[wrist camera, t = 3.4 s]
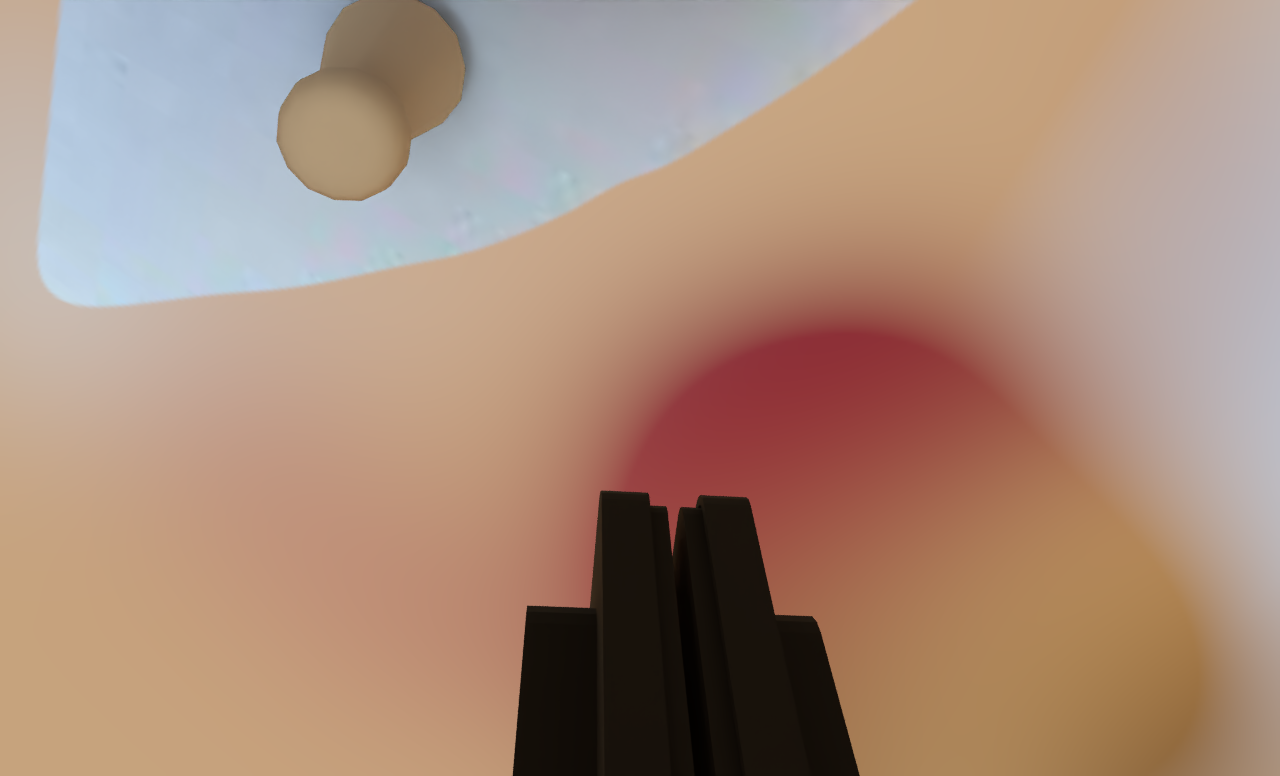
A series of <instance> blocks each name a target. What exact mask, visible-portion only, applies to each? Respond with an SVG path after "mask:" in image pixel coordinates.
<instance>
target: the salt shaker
mask: <svg viewBox="0 0 1280 776" xmlns="http://www.w3.org/2000/svg"><path fill="white" fill-rule="evenodd" d="M464 76H465V65H464V61H463V57H462V53H461V50H460V46H459V42H458V38H457V35H456V34H455V33H454V31H453V30H452V29H451V28H450V27H449V26H448V24H447V23H446V22H445V21H444V20H443V18H442V17H441V16H440V15H439V14H438V12H437V11H436V10H435V9H433V8H431V7H429V6H427V5H425V4H424V3H422V2H420V1H418V0H359V1H357V2H355V3H353V4H351V5H349V6H347V7H345V8H343V10H342V11H341V13H340V14H339V16H338V17H337V19H336V20H335V22H334V23H333V25H332V26H331V28H330V29H329V31H328V32H327V34H326V40H325V45H324V50H323V56H322V61H321V67H320V70H319V71H317V72H315V73H313V74H311V75H309V76H307V77H305V78H303V79H301V80H300V81H298V82H297V83H296V84H295V85H294V87H293V88H292V90H291V92H290V93H289V95H288V96H287V98H286V99H285V101H284V103H283V104H282V106H281V108H280V111H279V117H278V129H277V143H278V146H279V148H280V150H281V153H282V155H283V158H284V160H285V162H286V165H287V167H288V168H289V169H290V170H291V171H292V172H293V174H294V175H295V176H296V177H297V178H298V179H299V180H300V181H301V182H302V183H303V184H304V185H305V186H306V187H307V188H308V189H310V190H313V191H315V192H317V193H320V194H322V195H324V196H327V197H329V198H331V199H334V200H355V201H362V200H364V199H367V198H369V197H371V196H373V195H375V194H377V193H379V192H381V191H383V190H385V189H387V188H388V187H389V186H391V185H392V183H393V182H394V181H395V179H396V178H397V177H398V176H399V174H400V173H401V172H402V170H403V169H404V168H405V166H406V165H407V162H408V159H409V152H410V144H411V140H412V139H413V138H415V137H417V136H419V135H421V134H423V133H425V132H427V131H428V130H430V129H432V128H434V127H436V126H438V125H440V124H441V123H443V122H444V121H445V119H446V118H447V117H448V116H449V114H450V113H451V112H452V111H453V109H454V108H455V107H456V106H457V104H458V103H459V102H460V101H461V96H462V89H463V82H464Z"/></svg>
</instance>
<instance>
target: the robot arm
mask: <svg viewBox="0 0 1280 776" xmlns="http://www.w3.org/2000/svg"><path fill="white" fill-rule="evenodd" d="M513 776H860V775H859V772H858V768H857V764H856V761H855V757H854V754H853V750H852V746H851V742H850V738H849V735H848V731H847V727H846V724H845V720H844V716H843V713H842V709H841V705H840V702H839V698H838V694H837V691H836V687H835V683H834V679H833V676H832V672H831V668H830V665H829V661H828V657H827V654H826V650H825V646H824V643H823V639H822V635H821V632H820V629H819V627H818V624H817V622H816V620H815V619H814V618H813V617H812V616H790V615H789V616H788V615H775V614H774V609H773V604H772V600H771V595H770V591H769V586H768V582H767V577H766V573H765V568H764V564H763V559H762V555H761V550H760V545H759V541H758V536H757V532H756V527H755V523H754V518H753V514H752V509H751V505H750V502H749V499H747V498H746V497H727V496H705V495H700V496H699V497H698V500H697V504H696V508H689V507H681V508H680V510H679V515H678V521H677V528H676V535H675V542H674V549H673V556H672V551H671V540H670V531H669V521H668V512H667V507H666V506H650V500H649V494H648V493H641V492H621V491H601V492H600V498H599V510H598V520H597V532H596V544H595V555H594V567H593V578H592V591H591V602H590V608H574V607H548V606H527V612H526V623H525V635H524V647H523V660H522V671H521V683H520V695H519V707H518V719H517V731H516V743H515V754H514V767H513Z"/></svg>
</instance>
